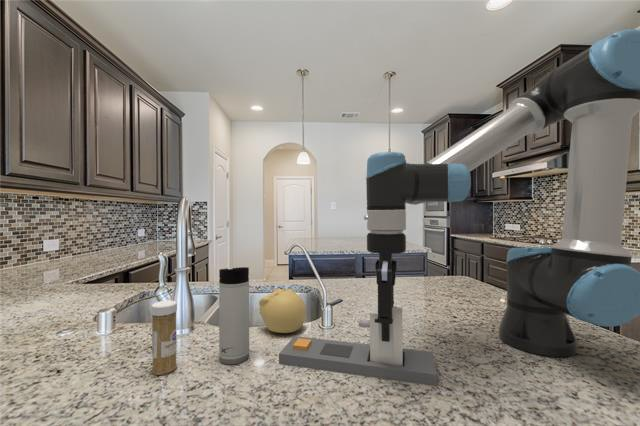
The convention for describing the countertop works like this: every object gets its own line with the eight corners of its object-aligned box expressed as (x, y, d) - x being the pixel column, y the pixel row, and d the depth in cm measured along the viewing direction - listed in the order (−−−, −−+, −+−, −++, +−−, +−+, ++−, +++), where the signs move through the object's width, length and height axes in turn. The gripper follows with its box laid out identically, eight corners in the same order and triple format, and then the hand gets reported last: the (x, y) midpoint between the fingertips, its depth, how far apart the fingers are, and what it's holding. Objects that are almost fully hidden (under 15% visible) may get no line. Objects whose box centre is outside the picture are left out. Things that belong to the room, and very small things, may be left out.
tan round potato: (286, 318, 89) (286, 282, 89) (314, 329, 81) (314, 289, 81) (253, 328, 81) (253, 289, 81) (280, 342, 73) (280, 298, 73)
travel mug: (222, 368, 60) (222, 269, 60) (217, 355, 66) (216, 264, 66) (252, 361, 63) (252, 267, 63) (245, 349, 69) (245, 262, 69)
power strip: (432, 366, 61) (432, 347, 61) (437, 391, 52) (437, 370, 52) (294, 349, 69) (294, 332, 69) (278, 368, 60) (278, 349, 60)
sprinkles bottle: (173, 374, 58) (173, 305, 58) (148, 377, 57) (147, 307, 57) (179, 362, 63) (179, 298, 63) (155, 365, 62) (155, 300, 62)
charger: (402, 361, 61) (402, 307, 61) (402, 374, 56) (402, 315, 56) (361, 356, 63) (360, 304, 63) (357, 368, 58) (357, 312, 58)
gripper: (371, 229, 69) (372, 330, 69) (360, 235, 51) (361, 370, 51) (405, 229, 67) (406, 333, 67) (406, 235, 49) (407, 376, 49)
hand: (386, 349), depth 59 cm, fingers closed on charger, 5 cm apart
